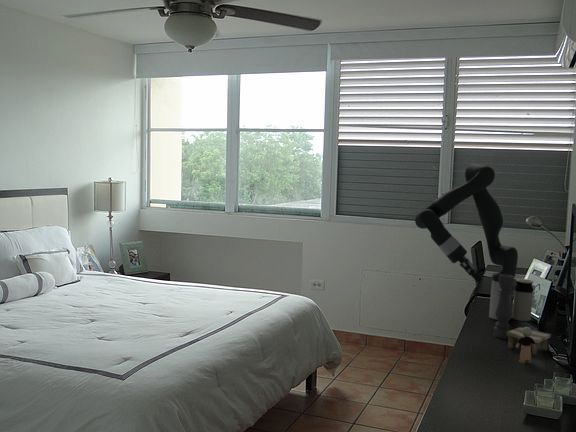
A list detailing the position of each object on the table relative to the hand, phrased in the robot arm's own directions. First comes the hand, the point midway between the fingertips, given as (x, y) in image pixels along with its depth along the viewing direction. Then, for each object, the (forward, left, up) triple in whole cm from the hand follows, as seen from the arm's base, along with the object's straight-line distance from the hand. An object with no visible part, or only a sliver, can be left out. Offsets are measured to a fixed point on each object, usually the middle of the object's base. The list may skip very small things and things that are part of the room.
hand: (479, 279), depth 247 cm
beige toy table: (+3, +23, -22) cm, 32 cm away
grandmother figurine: (+20, +29, -23) cm, 42 cm away
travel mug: (-40, +2, -23) cm, 46 cm away
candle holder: (-5, +9, -23) cm, 25 cm away
